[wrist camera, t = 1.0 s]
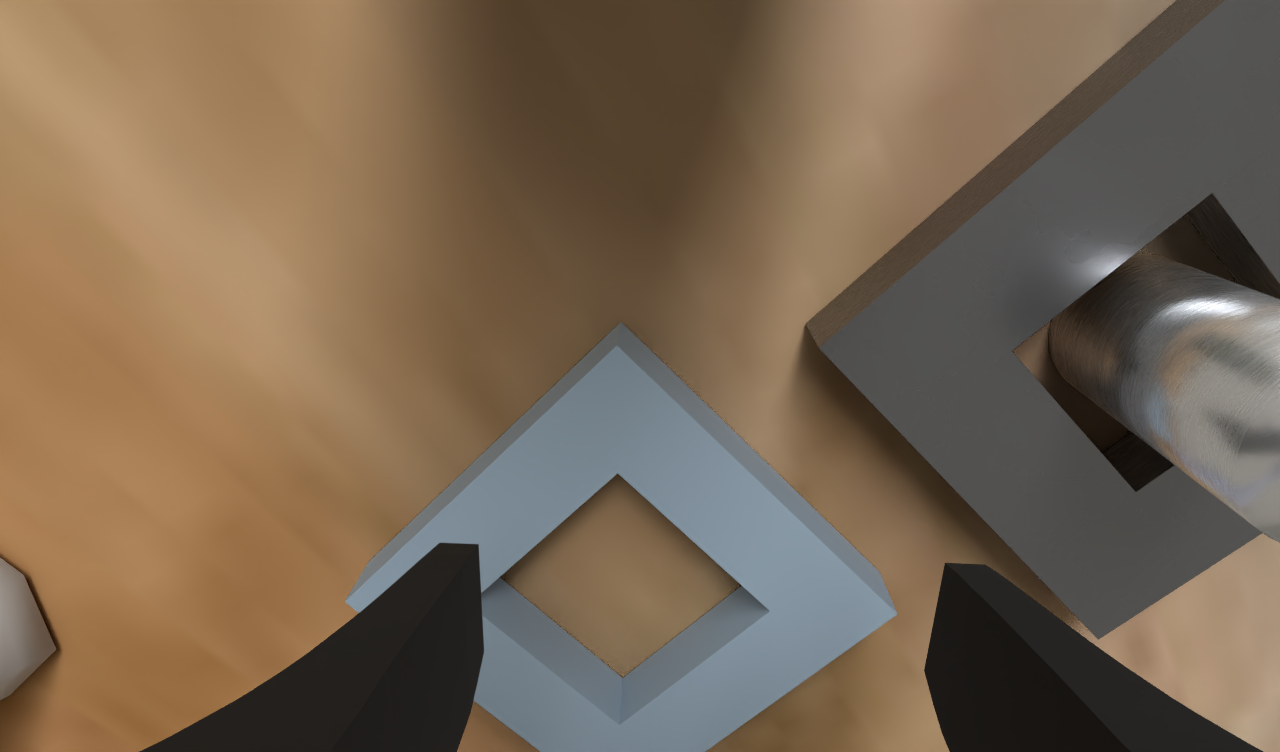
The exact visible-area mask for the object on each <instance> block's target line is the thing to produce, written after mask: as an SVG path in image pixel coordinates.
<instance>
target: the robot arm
mask: <svg viewBox="0 0 1280 752" xmlns="http://www.w3.org/2000/svg"><path fill="white" fill-rule="evenodd" d="M483 655H484V638H483V619H482V600H481V581H480V561H479V544H462V543H439V544H438V545H436V546H435V547H434V548H433V549H432V550H431V551H429V552H428V553H427V554H426V555H425V556H424V557H423V558H421V559H420V560H419V561H418V562H417V563H416V564H415V565H414V566H412V567H411V568H410V569H409V570H408V571H407V572H406V573H405V574H404V575H402V576H401V577H400V578H399V579H398V580H397V581H396V582H395V583H393V584H392V585H391V586H390V587H389V588H388V589H387V590H386V591H384V592H383V593H382V594H381V595H380V596H379V597H377V598H376V599H375V600H374V601H373V602H372V603H370V604H369V605H368V606H367V607H366V608H364V609H363V610H362V611H361V612H360V613H359V614H357V615H356V616H355V617H354V618H353V619H351V620H350V621H349V622H348V623H346V624H345V625H344V626H342V627H341V628H340V629H338V630H337V631H336V632H335V633H333V634H332V635H331V636H329V637H328V638H327V639H326V640H324V641H323V642H322V643H320V644H319V645H318V646H316V647H315V648H314V649H313V650H311V651H310V652H309V653H307V654H306V655H304V656H303V657H302V658H300V659H299V660H297V661H296V662H295V663H293V664H292V665H290V666H289V667H287V668H286V669H284V670H283V671H281V672H280V673H278V674H277V675H275V676H274V677H272V678H271V679H269V680H268V681H266V682H264V683H263V684H261V685H260V686H258V687H257V688H255V689H253V690H252V691H250V692H249V693H247V694H246V695H244V696H242V697H241V698H239V699H237V700H236V701H234V702H232V703H230V704H228V705H227V706H225V707H223V708H221V709H219V710H218V711H216V712H214V713H212V714H210V715H209V716H207V717H205V718H203V719H201V720H199V721H198V722H196V723H194V724H192V725H190V726H189V727H187V728H185V729H183V730H181V731H180V732H178V733H176V734H174V735H172V736H170V737H168V738H166V739H164V740H162V741H161V742H159V743H156V744H154V745H152V746H150V747H148V748H146V749H144V750H142V751H140V752H457V750H458V747H459V744H460V741H461V738H462V735H463V733H464V730H465V727H466V724H467V721H468V718H469V715H470V712H471V708H472V704H473V700H474V696H475V691H476V687H477V683H478V678H479V673H480V669H481V664H482V659H483ZM924 671H925V675H926V679H927V682H928V686H929V690H930V693H931V697H932V701H933V705H934V708H935V711H936V714H937V718H938V721H939V724H940V728H941V731H942V734H943V736H944V739H945V741H946V744H947V746H948V748H949V751H950V752H1263V751H1261V750H1259V749H1258V748H1256V747H1254V746H1252V745H1250V744H1248V743H1247V742H1245V741H1243V740H1242V739H1240V738H1238V737H1236V736H1235V735H1233V734H1231V733H1230V732H1228V731H1226V730H1224V729H1223V728H1221V727H1219V726H1218V725H1216V724H1214V723H1212V722H1211V721H1209V720H1207V719H1206V718H1204V717H1202V716H1200V715H1199V714H1197V713H1195V712H1194V711H1192V710H1191V709H1189V708H1187V707H1186V706H1184V705H1182V704H1181V703H1179V702H1178V701H1176V700H1174V699H1173V698H1171V697H1170V696H1168V695H1167V694H1165V693H1164V692H1162V691H1161V690H1159V689H1158V688H1156V687H1155V686H1153V685H1152V684H1150V683H1149V682H1147V681H1146V680H1144V679H1143V678H1141V677H1140V676H1138V675H1137V674H1135V673H1134V672H1132V671H1131V670H1129V669H1128V668H1126V667H1125V666H1124V665H1122V664H1121V663H1119V662H1118V661H1116V660H1115V659H1114V658H1112V657H1111V656H1109V655H1108V654H1106V653H1105V652H1104V651H1102V650H1101V649H1100V648H1098V647H1097V646H1095V645H1094V644H1093V643H1091V642H1090V641H1088V640H1087V639H1086V638H1084V637H1083V636H1082V635H1080V634H1079V633H1078V632H1076V631H1075V630H1074V629H1072V628H1071V627H1070V626H1068V625H1067V624H1066V623H1064V622H1063V621H1062V620H1060V619H1059V618H1058V617H1056V616H1055V615H1054V614H1052V613H1051V612H1050V611H1048V610H1047V609H1046V608H1044V607H1043V606H1042V605H1040V604H1039V603H1038V602H1036V601H1035V600H1034V599H1032V598H1031V597H1030V596H1028V595H1027V594H1026V593H1025V592H1023V591H1022V590H1020V589H1019V588H1018V587H1016V586H1015V585H1014V584H1012V583H1011V582H1010V581H1008V580H1007V579H1006V578H1004V577H1003V576H1001V575H1000V574H999V573H997V572H996V571H994V570H993V569H991V568H990V567H988V566H986V565H981V564H956V563H945V566H944V571H943V576H942V581H941V587H940V592H939V597H938V602H937V607H936V613H935V618H934V623H933V628H932V633H931V638H930V644H929V649H928V654H927V659H926V664H925V669H924Z"/></svg>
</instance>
